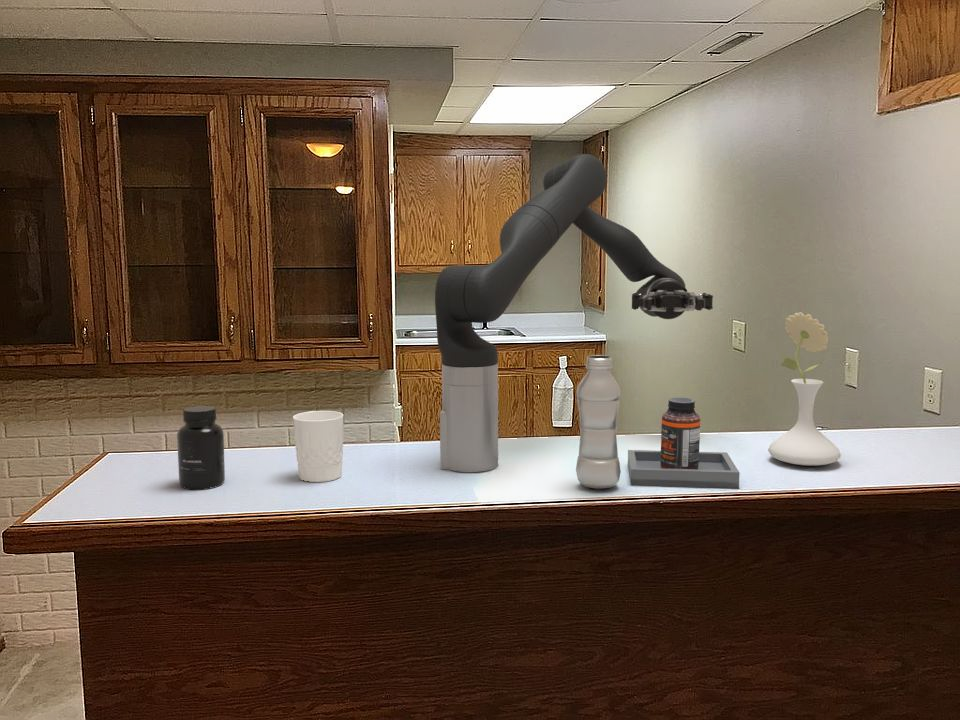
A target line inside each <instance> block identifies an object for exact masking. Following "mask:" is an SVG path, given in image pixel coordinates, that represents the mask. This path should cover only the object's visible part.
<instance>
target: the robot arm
mask: <svg viewBox="0 0 960 720" xmlns="http://www.w3.org/2000/svg"><path fill="white" fill-rule="evenodd" d="M607 178H608V177H607V170H606V167H605V166H604V163H603V162H602V161H601V160H600V159H599V158H598V157H596V156H594V155H592V154H588V153H581V154H578V155H574V156H572V157H571V158H568V159H567V160H565V161H562V162H561V163H559V164H557V165H555V166H553V167H552V168H550V169H548V170H547V172H546V173H545V174H544V176H543V181H542V183H543V189H544V190H543V191H541V192H540V193H538V194H536V195H535V196H534V197H532V198H530V199H529V200H528V201H526V202H525V203H523V204H522V205H521V206H519V208H518V209H516V211H514V212H513V214H512V215H510V217H509V218H508V219H507V220H506V221H505V223H504V224H503V225H502V228H501V230H500V234H499V247H500V252H501V254H500V255H499V256H498V257H497V258H496V259H494V260H493V261H492V262H490V263H488V264H484V265H477V264H475V265H474V264H473V265H470V264H469V265H468V264H466V265H465V264H464V265H463V264H462V265H460V264H458V265H456V264H454V265H448V266H446V267H444V268H443V269H442V270H441V272H440V273H439V274H438V276H437V279H436V282H435V283H436V284H435V288H434V289H435V290H434V308H435V309H434V310H435V320H436V336H437V337H436V338H437V346H438V349H439V353H440V355H441V356H440V357H441V383H442V384H441V392H442V393H441V397H442V401H441V402H442V405H441V406H442V407H441V408H442V409H441V410H440V412H439V437H440V438H439V445H440V446H439V448H440V449H439V450H440V451H439V453H440V455H439V456H440V461H439V462H440V469H442V470H443V469H444V470H450V471H454V472H461V473H477V472H485V471H486V472H487V471H491V470H493V469H496V468H497V467H498V466H499V368H498V367H499V364H498V363H499V361H498V360H499V357H498V356H499V355H498V349H497V347H496V346H495V345H494V344H493V343H491V342H489V341H487V340H486V339H484V338H482V337H481V336H480V335H478V333H477V332H476V331H475V330H474V327H473V326H474V325H473V323H476V324H477V323H478V324H486V323H492V322H494V321H496V320H497V319H499V318H500V317H501V316H502V315H503V314H504V313H505V311H506V310H507V308H508V307H509V306H510V304H511V303H512V301H513V299H514V298H515V297H516V295H517V293H518V292H519V291H520V288H521V286H522V285H523V284H524V282H525V280H526V279H527V278H528V276H530V274H531V273H532V272H533V270H534V269H535V268H536V267H537V265H538V264H539V263H540V262H541V261H542V260H543V259H544V257H545V256H547V254H548V253H549V252H550V251H551V250H552V248H554V246H555V245H556V244H557V242H558V241H559V240H560V238H561V237H562V236H563V235H564V234H565V233H566V231H567V230H568V229H569V228H570V227H571V226H572V225H574V226H575V227H577V229H578V230H580V231H581V232H582V233H583V234H584V235H586V236H587V237H588V238H589V239H590V240H592V241H593V242H594V243H595V244H596V245H597V246H598V247H600V248H601V250H603V252H604V253H606V255H607V256H608V257H609V258H610V260H612V262H613V263H614V264H615V266H616V267H617V268H618V270H620V272H621V273H622V274H623V276H625V278H626V279H627V280H628V281H630V282H631V283H638V282H641V281H643V280H646V279H647V278H650V277H651V278H650V279H648V281H647V282H645V283H644V284H642V285H641V286H640V287H639V288H638V289H637V290H636V291H635V292H634V293H631V310H634V311H635V310H638V309H640V310H641V311H642V312H643V313H644V314H646V315H648V316H650V317H655V318H657V317H658V318H659V319H660V318H661V319H664V320H672V319H677V318H679V317H681V316H682V315H683V314H684V313H685V312H694V311H695V310H696V311H702V310H704V309H705V310H708V311H711V310H713V299H714V296H713V294H709V293H706V292H703V293H700V294H698V295H697V294H696V293H695V292H693V291H688V289H687V287H686V283H685V280H684V279H683V277H681V276H680V275H679V274H678V273H677V272H675V271H674V270H673V269H671V268H670V267H667V266H666V265H665V264H663V263H662V262H661V261H659V260H658V259H657V258H656V257H655V256H654V255H653V253H652V252H651V251H650V250H649V249H648V248H647V246H646V245H645V244H644V242H643V241H642V240H641V238H639V236H638V235H636V234H635V233H634V232H633V231H632V230H630V229H628V228H627V227H626V226H623V225H621V224H618V223H617V222H615V221H613V220H610V219H609V218H606V217H605V216H603V215H601V214H600V213H598V212H597V211H595V210H594V209H593V208H591V206H590V205H591V204H592V203H594V202H595V201H596V200H598V199H599V198H600V197H601V196H602V195H603V193H604V191H605V189H606V186H607V180H608V179H607Z"/></svg>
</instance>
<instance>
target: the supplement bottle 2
mask: <svg viewBox="0 0 960 720" xmlns="http://www.w3.org/2000/svg"><path fill="white" fill-rule="evenodd" d="M667 403H668V405H667V407H668V408H667V410H666V411H665V412H663V414H662V416H661V429H660V433H661V435H660V436H661V437H660V451H661V457H660V462H661V468H662V469H697V470H698V464H699V452H700V441H701V440H700V439H701V417H700V414H698V413H697V412H696V410H695V408H696V407H695V405H696V404H695V403H696V402H695V400H694V399H693V398H690V397H689V398H688V397H682V396H680V397H679V396H677V397H672V398H671V397H670V398H669V399H668V402H667Z"/></svg>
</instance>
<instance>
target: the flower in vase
mask: <svg viewBox="0 0 960 720" xmlns="http://www.w3.org/2000/svg"><path fill="white" fill-rule="evenodd" d="M784 325H785V327H784V330H785V331H786V333H788V337H789V338H790V339H792V341H793V343H794V344H795V345H797V347H796V351H795V358H794V359H793V358H791V357H790V356H786V357H785V358H784V359H783V361H782V362H781V364H780V366H782V367H785V368H788V369H790V370H791V371H796V370H797V369H798V371H799V373H800V375H801V378H794V379H791V381H790V383H792V385H793V386H794V388H795V390H796V395H797V398H798V417H797V421H796V422H795V425H793V427H792V428H791V429H789V430H788V431H786V432H785V433H782V434H781V435H780V436H779V437H777V438H776V439H775V440H774V441H772V442H771V443H770V444H769V446H768V448H767V452H768V454H769V455H770V456H771V457H772V458H775V459H776V460H779V461H781V462H784V463H787V464H792V465H799V466H827V465H830V464H832V463H836V462H837V461H838V460H839V459H840V458H841V457H842V455H841V452H840V450H839V448H838V447H837V446H836V444H834V443H833V442H832V441H831V440H830V439H829V438H828V437H827V436H825V435H824V434H823V433H822V432H821V431H820V430H819V429H818V428H817V427H816V425H815V423H814V405H815V400H816V396H817V393H818V392H819V390H820V388H821V387H822V385H823V384H824V381H823V380H820V379H814V378H805V375H804V373H806V372H809V371H811V370H814V369H816V368H818V366H820V365H821V364H822V363H823V361H821V362H819V363H818V364H816V365H812V366H810V367H807V368H806V369H805V370H804V371H802V369H801V366H800V364H799V360H798V359H799V357H798V355H799V352H800V348H801V349H805V350H806V351H807V352H811V353H815V354H816V353H817V352H822V351H823V350H827V349H828V346H827V345H828V343H829V333H828V332H827V331H825V328H826V327H825V325H824V324H822V323H820V321H819V319H817V318H813V316H812V315H811V314H810V313H807V314H806V315H805V314H804V313H803V312H801V311H799V312H795V313H794V314H792V315H788V317H786V318H785V323H784Z"/></svg>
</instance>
